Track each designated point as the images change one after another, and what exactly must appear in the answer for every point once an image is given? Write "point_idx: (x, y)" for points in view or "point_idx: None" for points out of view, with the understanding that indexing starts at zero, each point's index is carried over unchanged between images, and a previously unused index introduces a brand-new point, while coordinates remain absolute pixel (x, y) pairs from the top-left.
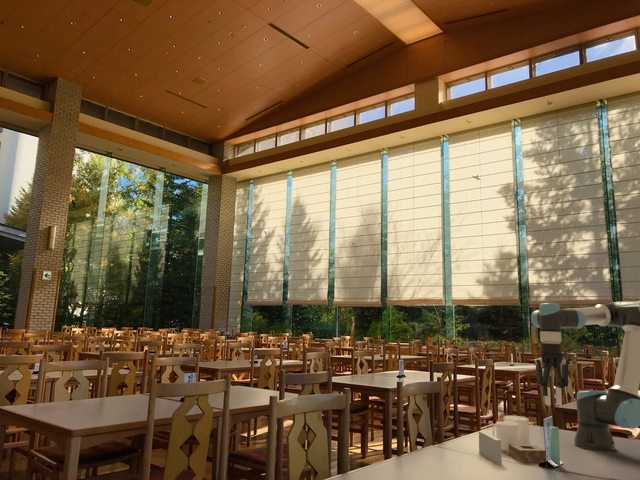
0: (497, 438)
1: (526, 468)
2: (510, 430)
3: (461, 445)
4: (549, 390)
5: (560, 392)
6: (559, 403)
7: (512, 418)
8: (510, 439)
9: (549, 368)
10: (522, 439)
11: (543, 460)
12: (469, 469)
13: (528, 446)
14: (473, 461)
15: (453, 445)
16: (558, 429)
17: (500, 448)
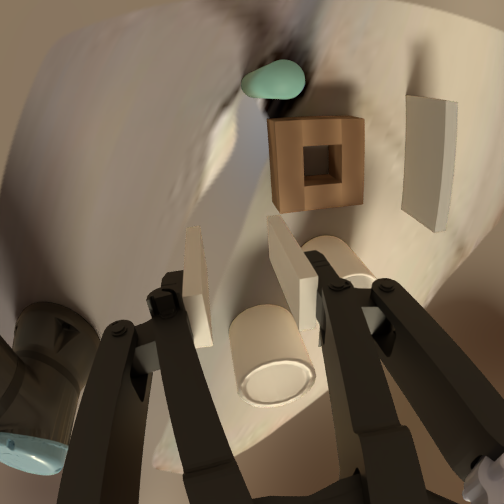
0: (445, 124)
1: (360, 47)
2: (349, 263)
3: (414, 276)
4: (298, 265)
5: (191, 273)
6: (201, 237)
7: (275, 396)
8: (339, 249)
9: (385, 439)
10: (262, 317)
11: (280, 118)
12: (476, 55)
13: (309, 185)
14: None
15: (430, 271)
16: (267, 66)
17: (431, 98)
